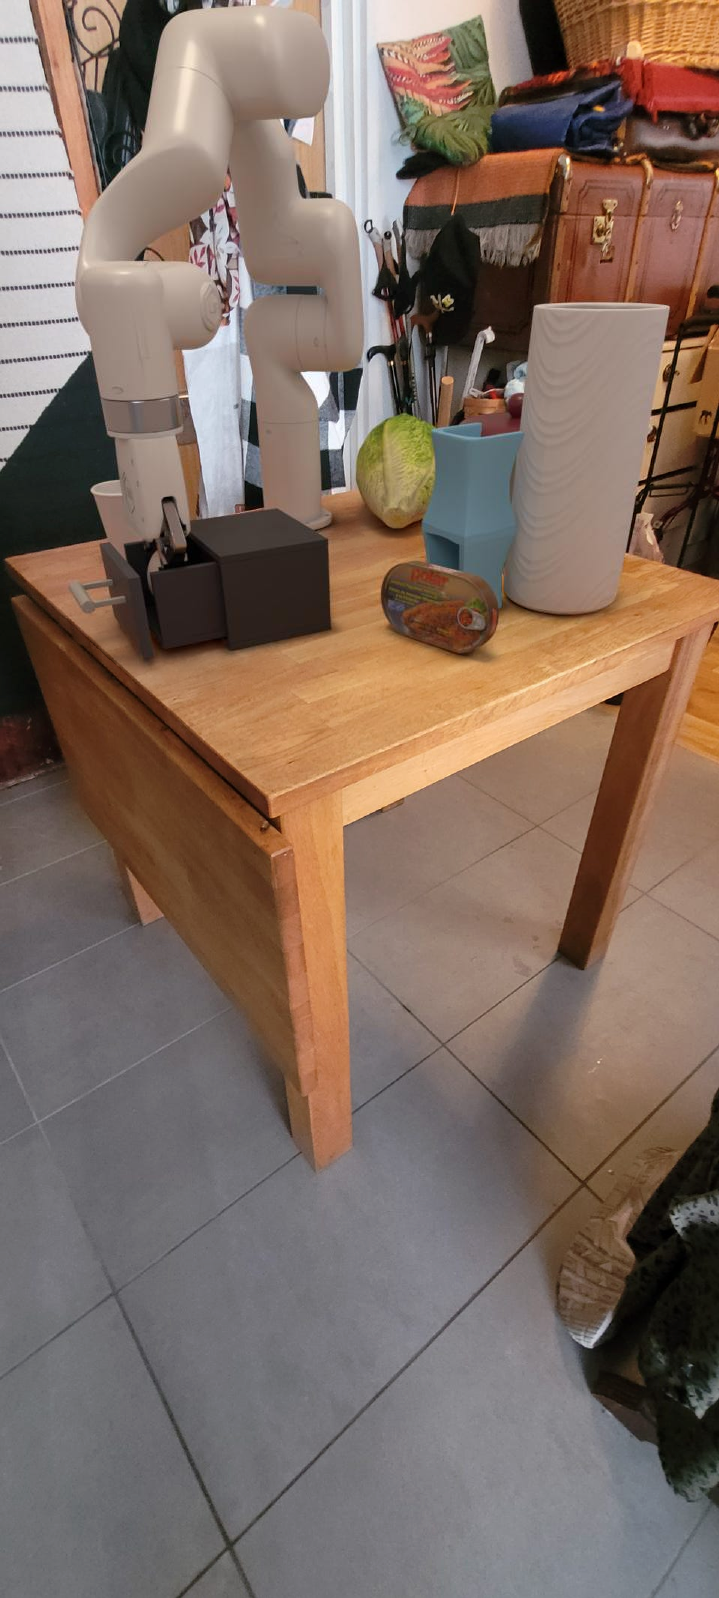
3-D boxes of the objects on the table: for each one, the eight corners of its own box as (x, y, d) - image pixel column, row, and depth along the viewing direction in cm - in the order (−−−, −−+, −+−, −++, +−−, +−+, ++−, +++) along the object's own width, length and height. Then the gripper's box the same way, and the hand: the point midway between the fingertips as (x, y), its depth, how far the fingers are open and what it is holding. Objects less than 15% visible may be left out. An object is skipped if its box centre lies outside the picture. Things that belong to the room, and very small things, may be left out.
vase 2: (543, 625, 91) (587, 310, 73) (481, 587, 102) (505, 304, 83) (640, 606, 95) (704, 306, 77) (570, 571, 106) (612, 300, 88)
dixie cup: (104, 568, 109) (90, 495, 103) (104, 551, 116) (90, 481, 110) (164, 563, 111) (153, 490, 105) (160, 546, 117) (150, 477, 112)
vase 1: (507, 606, 96) (525, 431, 84) (459, 620, 92) (471, 440, 81) (466, 588, 101) (478, 421, 90) (419, 600, 98) (425, 429, 86)
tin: (378, 627, 91) (379, 556, 86) (395, 619, 93) (397, 549, 88) (482, 663, 83) (489, 587, 78) (499, 654, 84) (507, 579, 80)
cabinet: (230, 650, 86) (219, 556, 80) (190, 608, 96) (178, 522, 90) (331, 629, 91) (328, 538, 84) (282, 590, 101) (277, 507, 95)
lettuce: (447, 564, 124) (352, 572, 127) (456, 476, 137) (370, 485, 141) (436, 482, 112) (332, 493, 115) (448, 394, 125) (354, 406, 129)
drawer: (99, 668, 80) (80, 586, 75) (74, 624, 90) (56, 549, 85) (244, 638, 87) (236, 560, 81) (206, 600, 96) (196, 528, 91)
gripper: (87, 407, 81) (120, 575, 92) (126, 434, 69) (159, 625, 80) (156, 401, 84) (181, 565, 95) (206, 426, 72) (228, 611, 82)
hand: (171, 591), depth 87 cm, fingers closed on egg, 4 cm apart
